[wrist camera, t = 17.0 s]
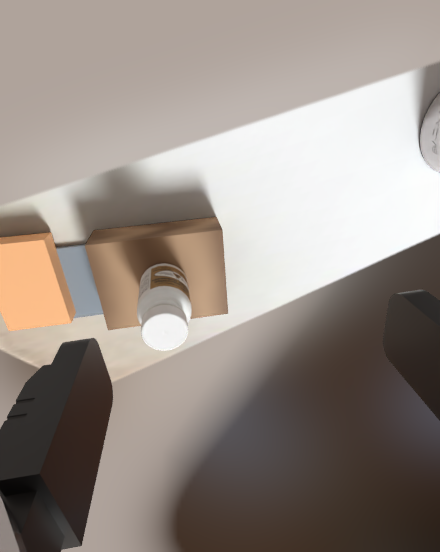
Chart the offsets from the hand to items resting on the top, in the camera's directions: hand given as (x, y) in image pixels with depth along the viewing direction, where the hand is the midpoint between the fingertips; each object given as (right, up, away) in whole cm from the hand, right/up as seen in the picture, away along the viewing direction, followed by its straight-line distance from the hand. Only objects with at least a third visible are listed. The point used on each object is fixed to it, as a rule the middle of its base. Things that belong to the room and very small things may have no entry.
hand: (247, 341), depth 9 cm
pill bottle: (-6, +1, +22) cm, 23 cm away
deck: (-7, +3, +25) cm, 26 cm away
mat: (-17, +1, +25) cm, 30 cm away
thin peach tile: (-19, +1, +22) cm, 29 cm away
